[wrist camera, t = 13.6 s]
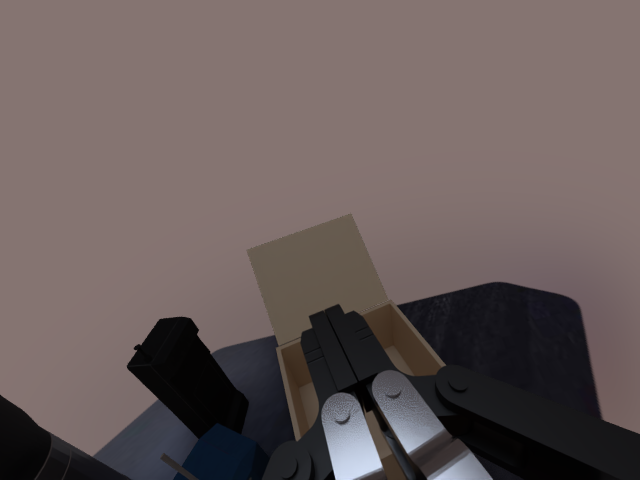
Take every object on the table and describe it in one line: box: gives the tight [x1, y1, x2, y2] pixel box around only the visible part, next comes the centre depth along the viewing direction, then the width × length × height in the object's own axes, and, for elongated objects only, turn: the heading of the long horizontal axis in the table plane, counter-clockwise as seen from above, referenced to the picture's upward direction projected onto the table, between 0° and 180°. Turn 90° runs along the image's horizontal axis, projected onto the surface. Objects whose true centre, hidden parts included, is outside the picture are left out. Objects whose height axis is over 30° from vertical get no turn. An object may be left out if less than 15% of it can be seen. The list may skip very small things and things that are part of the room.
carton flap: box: [247, 214, 388, 346], centre depth 44 cm, size 16×19×1 cm
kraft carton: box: [276, 300, 446, 480], centre depth 38 cm, size 18×20×12 cm
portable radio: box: [127, 317, 249, 439], centre depth 38 cm, size 8×6×25 cm
